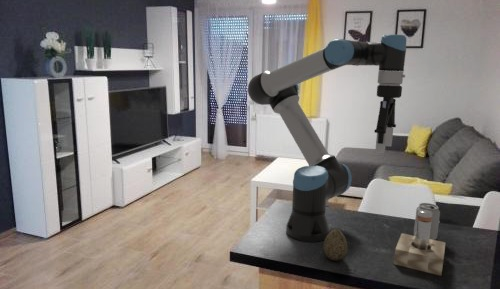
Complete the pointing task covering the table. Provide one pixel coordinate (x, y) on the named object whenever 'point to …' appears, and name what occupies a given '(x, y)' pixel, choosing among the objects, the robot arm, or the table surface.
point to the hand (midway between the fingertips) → (383, 149)
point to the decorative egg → (335, 245)
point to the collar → (420, 255)
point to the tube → (423, 229)
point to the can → (435, 218)
